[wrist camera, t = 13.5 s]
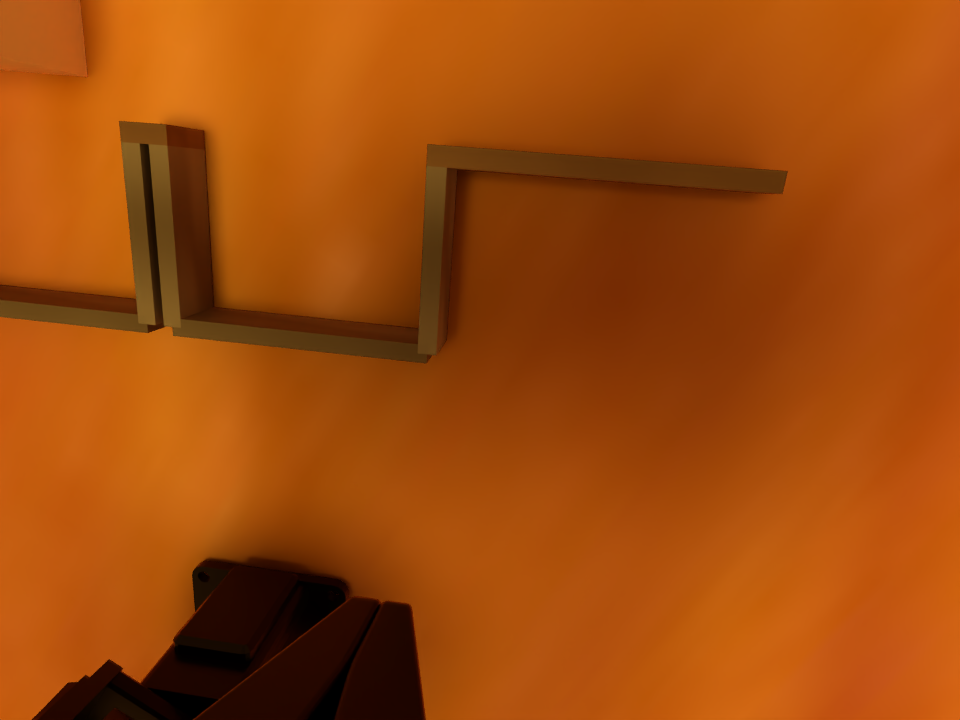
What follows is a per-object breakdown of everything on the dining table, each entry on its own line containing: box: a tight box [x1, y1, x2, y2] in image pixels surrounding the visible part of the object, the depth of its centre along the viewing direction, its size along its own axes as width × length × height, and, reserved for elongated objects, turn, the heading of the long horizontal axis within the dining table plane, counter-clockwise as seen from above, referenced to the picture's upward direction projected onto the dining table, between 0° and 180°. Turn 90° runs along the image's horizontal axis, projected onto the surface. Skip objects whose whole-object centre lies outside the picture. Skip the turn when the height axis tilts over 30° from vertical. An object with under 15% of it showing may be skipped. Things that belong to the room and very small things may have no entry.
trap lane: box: [0, 121, 788, 363], centre depth 18 cm, size 15×33×3 cm, turn 86°
